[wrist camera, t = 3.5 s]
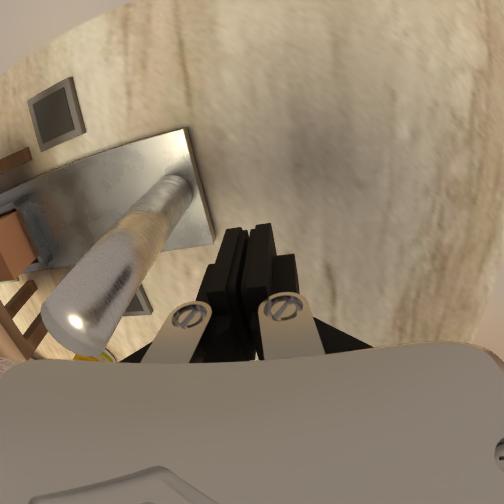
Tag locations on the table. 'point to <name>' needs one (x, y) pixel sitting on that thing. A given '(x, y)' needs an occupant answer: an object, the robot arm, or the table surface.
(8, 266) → the block
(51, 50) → the table surface
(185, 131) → the metal rod stand
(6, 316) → the wooden table
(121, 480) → the robot arm
